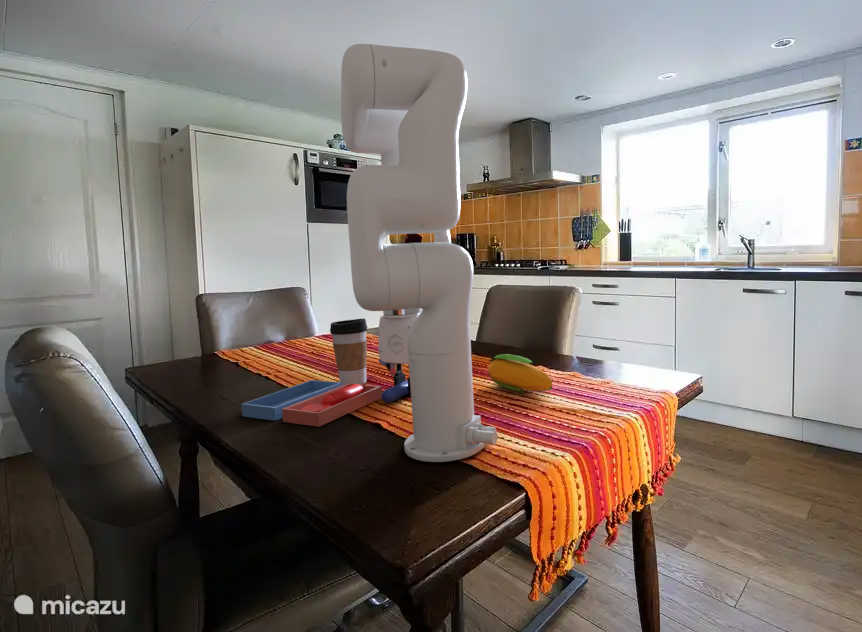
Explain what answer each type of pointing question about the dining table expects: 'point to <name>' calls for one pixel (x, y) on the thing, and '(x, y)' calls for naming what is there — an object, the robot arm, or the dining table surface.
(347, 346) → the coffee cup
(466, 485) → the dining table surface
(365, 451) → the dining table surface
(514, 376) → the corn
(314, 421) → the rose tray
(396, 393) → the blue spoon
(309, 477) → the dining table surface
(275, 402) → the blue tray
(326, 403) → the red spoon
